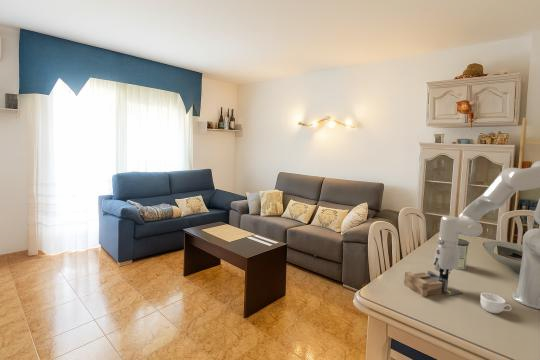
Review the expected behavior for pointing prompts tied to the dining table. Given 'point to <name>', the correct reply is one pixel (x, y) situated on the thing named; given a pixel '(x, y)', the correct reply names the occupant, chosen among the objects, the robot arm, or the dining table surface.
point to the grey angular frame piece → (439, 278)
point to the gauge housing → (425, 284)
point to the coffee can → (462, 253)
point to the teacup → (493, 303)
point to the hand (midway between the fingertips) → (443, 281)
